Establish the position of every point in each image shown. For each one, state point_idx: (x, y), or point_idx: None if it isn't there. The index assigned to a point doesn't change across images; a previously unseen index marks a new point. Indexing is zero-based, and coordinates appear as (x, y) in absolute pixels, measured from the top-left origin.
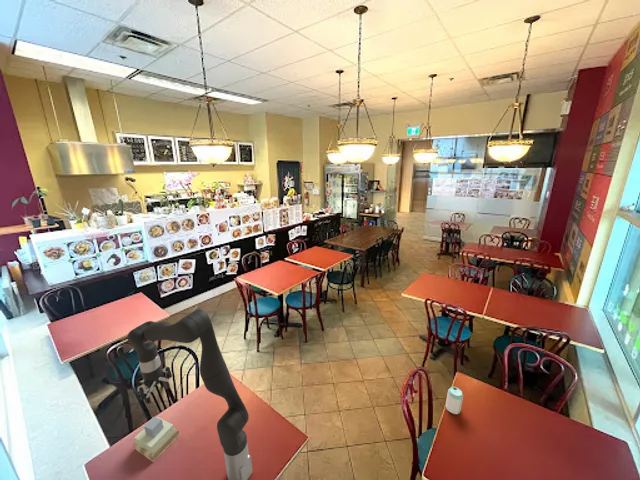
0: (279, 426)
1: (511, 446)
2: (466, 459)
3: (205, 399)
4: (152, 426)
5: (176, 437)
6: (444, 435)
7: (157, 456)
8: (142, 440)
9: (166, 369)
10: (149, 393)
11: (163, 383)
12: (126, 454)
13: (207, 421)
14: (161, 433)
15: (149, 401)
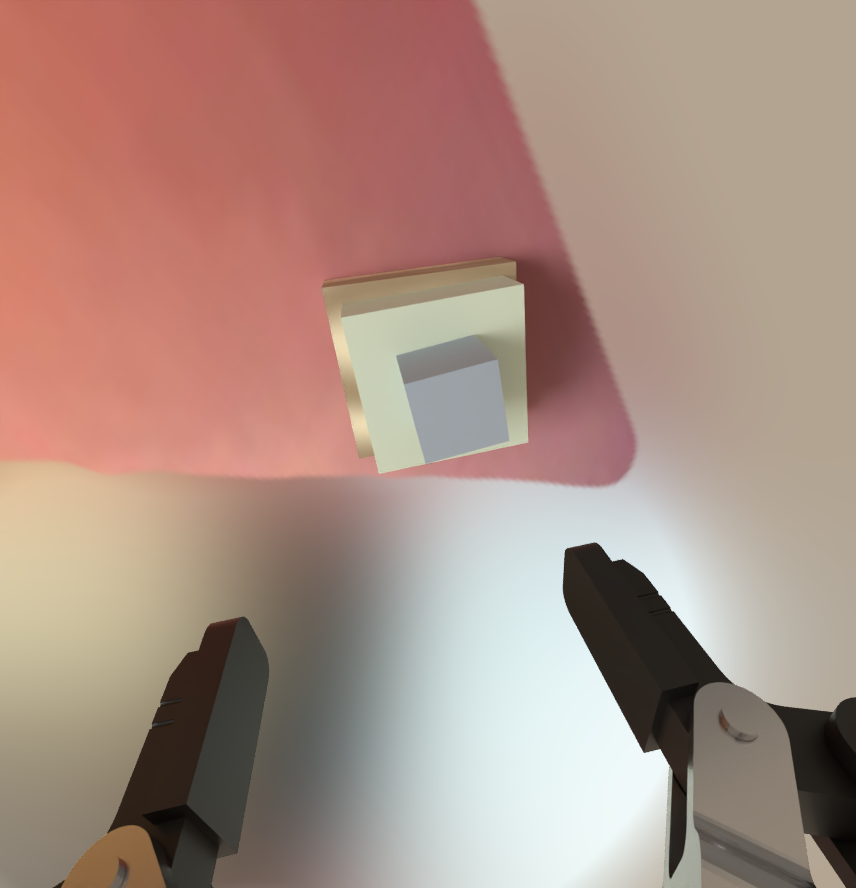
0: None
1: None
2: None
3: (67, 385)
4: (479, 386)
5: (345, 278)
6: None
7: (476, 261)
8: (518, 384)
9: None
10: (718, 795)
11: (248, 780)
12: (535, 420)
13: (122, 192)
14: (428, 325)
15: (616, 578)
